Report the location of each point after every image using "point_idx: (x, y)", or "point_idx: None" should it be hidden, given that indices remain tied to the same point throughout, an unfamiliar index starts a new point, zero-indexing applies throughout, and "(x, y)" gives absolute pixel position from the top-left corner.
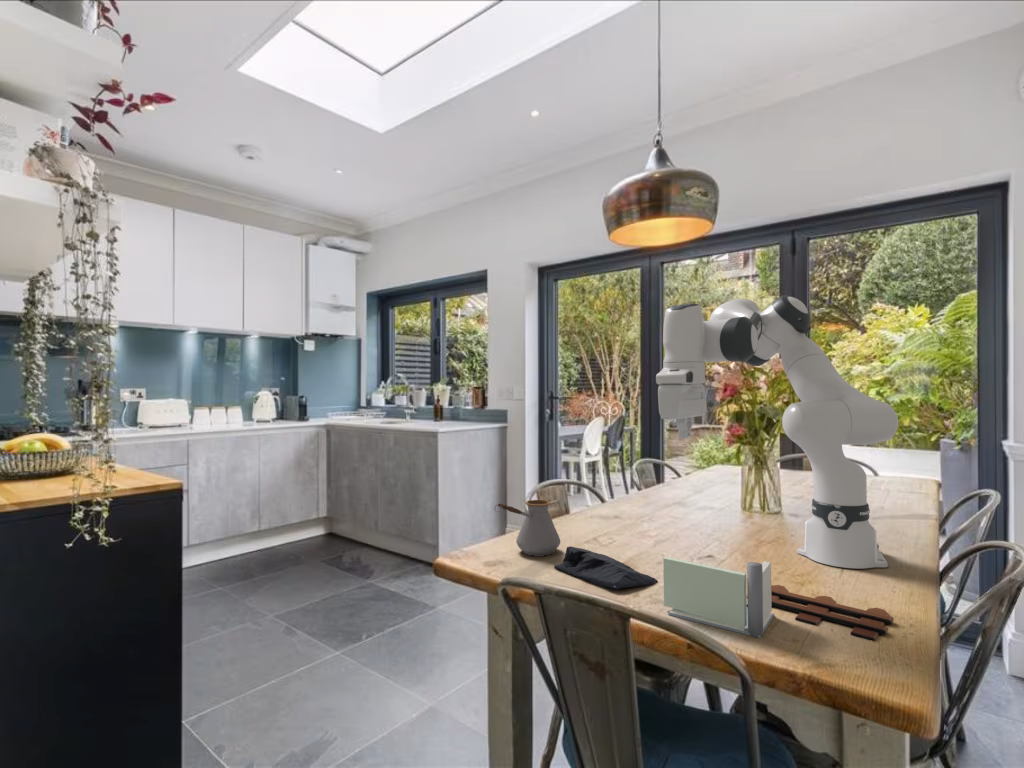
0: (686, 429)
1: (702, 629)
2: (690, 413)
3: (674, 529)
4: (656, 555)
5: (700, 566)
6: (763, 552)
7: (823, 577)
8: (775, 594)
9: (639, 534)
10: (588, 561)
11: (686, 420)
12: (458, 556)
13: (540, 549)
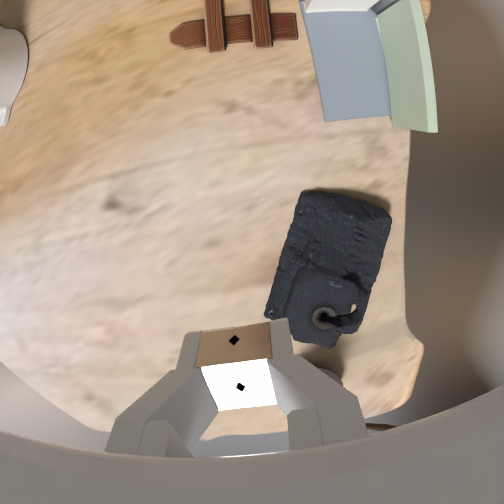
0: (294, 361)
1: None
2: (309, 489)
3: (55, 318)
4: (182, 268)
5: (430, 63)
6: (33, 158)
7: (78, 32)
8: (223, 22)
9: (117, 342)
10: (359, 292)
11: (321, 427)
12: (381, 408)
13: (333, 373)
